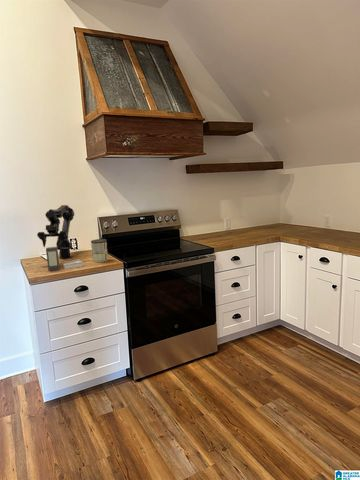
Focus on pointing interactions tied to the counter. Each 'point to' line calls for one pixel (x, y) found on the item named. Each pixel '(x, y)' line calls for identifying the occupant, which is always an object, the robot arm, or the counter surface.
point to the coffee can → (99, 250)
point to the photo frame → (52, 258)
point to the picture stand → (72, 264)
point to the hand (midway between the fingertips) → (51, 246)
